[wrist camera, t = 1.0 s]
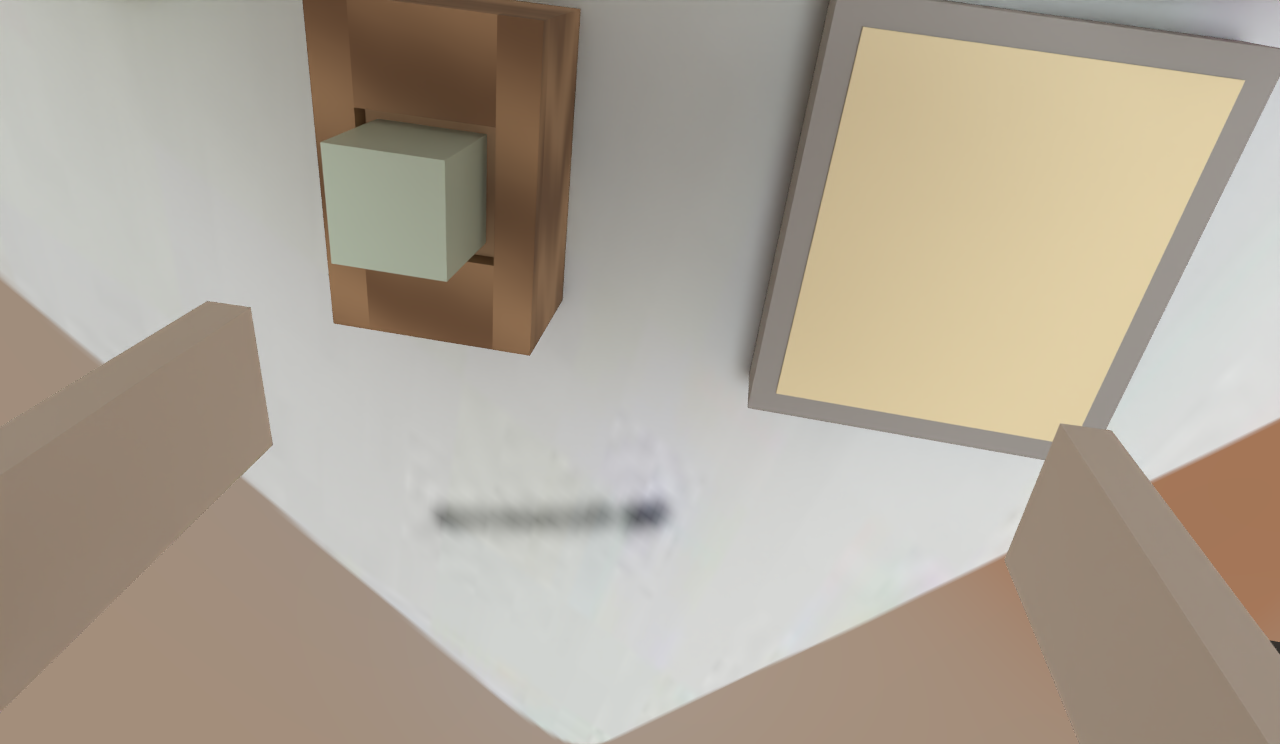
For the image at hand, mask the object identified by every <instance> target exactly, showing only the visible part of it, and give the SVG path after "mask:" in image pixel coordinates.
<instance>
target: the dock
mask: <svg viewBox="0 0 1280 744" xmlns="http://www.w3.org/2000/svg"><path fill="white" fill-rule="evenodd" d="M1279 77H1280V48H1275V47H1270V46H1265V45H1259V44H1254V43H1249V42H1244V41H1237V40H1230V39H1223V38H1215V37H1208V36H1201V35H1194V34H1186V33H1179V32H1172V31H1164V30H1157V29H1150V28H1143V27H1135V26H1128V25H1121V24H1113V23H1106V22H1099V21H1092V20H1084V19H1077V18H1070V17H1062V16H1055V15H1048V14H1041V13H1033V12H1026V11H1019V10H1011V9H1004V8H997V7H990V6H982V5H975V4H968V3H960V2H953V1H946V0H829V5H828V9H827V14H826V19H825V23H824V28H823V33H822V37H821V42H820V47H819V51H818V56H817V61H816V65H815V70H814V75H813V79H812V84H811V89H810V93H809V98H808V103H807V107H806V112H805V117H804V121H803V126H802V131H801V135H800V140H799V145H798V149H797V154H796V159H795V163H794V168H793V173H792V177H791V182H790V187H789V191H788V196H787V201H786V205H785V210H784V215H783V219H782V224H781V229H780V233H779V238H778V243H777V247H776V252H775V257H774V261H773V266H772V271H771V275H770V280H769V285H768V289H767V294H766V299H765V303H764V308H763V313H762V317H761V322H760V327H759V331H758V336H757V341H756V345H755V350H754V355H753V359H752V364H751V369H750V373H749V392H748V408H752V409H757V410H763V411H769V412H774V413H780V414H786V415H791V416H797V417H803V418H808V419H814V420H820V421H825V422H831V423H837V424H843V425H848V426H854V427H860V428H865V429H871V430H877V431H882V432H888V433H894V434H899V435H905V436H911V437H916V438H922V439H928V440H933V441H939V442H945V443H950V444H956V445H962V446H967V447H973V448H979V449H984V450H990V451H996V452H1002V453H1007V454H1013V455H1019V456H1024V457H1030V458H1036V459H1041V460H1045V459H1046V457H1047V454H1048V452H1049V449H1050V447H1051V444H1052V442H1053V439H1054V437H1055V434H1056V432H1057V430H1058V427H1059V425H1060V423H1062V424H1069V425H1076V426H1083V427H1090V428H1097V429H1104V430H1106V428H1107V426H1108V424H1109V422H1110V420H1111V418H1112V416H1113V414H1114V412H1115V410H1116V408H1117V406H1118V404H1119V402H1120V400H1121V398H1122V396H1123V394H1124V392H1125V390H1126V388H1127V386H1128V384H1129V381H1130V379H1131V377H1132V375H1133V373H1134V371H1135V369H1136V367H1137V365H1138V363H1139V361H1140V359H1141V357H1142V355H1143V353H1144V351H1145V349H1146V347H1147V345H1148V343H1149V341H1150V339H1151V337H1152V335H1153V333H1154V331H1155V329H1156V327H1157V325H1158V323H1159V321H1160V319H1161V316H1162V314H1163V312H1164V310H1165V308H1166V306H1167V304H1168V302H1169V300H1170V298H1171V296H1172V294H1173V292H1174V290H1175V288H1176V286H1177V284H1178V282H1179V280H1180V278H1181V276H1182V274H1183V272H1184V270H1185V268H1186V266H1187V264H1188V262H1189V260H1190V258H1191V256H1192V253H1193V251H1194V249H1195V247H1196V245H1197V243H1198V241H1199V239H1200V237H1201V235H1202V233H1203V231H1204V229H1205V227H1206V225H1207V223H1208V221H1209V219H1210V217H1211V215H1212V213H1213V211H1214V209H1215V207H1216V205H1217V203H1218V201H1219V199H1220V197H1221V195H1222V193H1223V191H1224V188H1225V186H1226V184H1227V182H1228V180H1229V178H1230V176H1231V174H1232V172H1233V170H1234V168H1235V166H1236V164H1237V162H1238V160H1239V158H1240V156H1241V154H1242V152H1243V150H1244V148H1245V146H1246V144H1247V142H1248V140H1249V138H1250V136H1251V134H1252V132H1253V130H1254V128H1255V126H1256V123H1257V121H1258V119H1259V117H1260V115H1261V113H1262V111H1263V109H1264V107H1265V105H1266V103H1267V101H1268V99H1269V97H1270V95H1271V93H1272V91H1273V89H1274V87H1275V85H1276V83H1277V81H1278V79H1279Z"/></svg>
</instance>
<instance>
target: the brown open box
mask: <svg viewBox="0 0 1280 744" xmlns="http://www.w3.org/2000/svg"><path fill="white" fill-rule="evenodd" d="M303 10H304V21H305V31H306V42H307V52H308V62H309V73H310V83H311V93H312V104H313V114H314V125H315V135H316V145H317V156H318V166H319V177H320V187H321V197H322V208H323V218H324V228H325V239H326V249H327V260H328V270H329V280H330V291H331V301H332V311H333V322H334V323H335V324H341V325H347V326H353V327H359V328H365V329H371V330H377V331H383V332H389V333H396V334H402V335H408V336H414V337H420V338H426V339H432V340H438V341H444V342H450V343H456V344H462V345H468V346H475V347H481V348H487V349H493V350H499V351H505V352H511V353H517V354H523V355H529V356H530V354H531V353H532V351H533V349H534V348H535V346H536V344H537V342H538V341H539V339H540V337H541V336H542V334H543V332H544V331H545V329H546V327H547V325H548V324H549V322H550V320H551V319H552V317H553V315H554V314H555V312H556V310H557V308H558V307H559V305H560V303H561V302H562V298H563V282H564V266H565V250H566V234H567V218H568V202H569V186H570V170H571V154H572V138H573V122H574V106H575V91H576V75H577V59H578V43H579V27H580V11H581V9H577V8H569V7H561V6H553V5H546V4H538V3H530V2H523V1H515V0H303ZM375 119H384V120H391V121H398V122H405V123H412V124H419V125H426V126H433V127H440V128H447V129H454V130H461V131H468V132H475V133H482V134H487V176H486V243H485V244H484V245H483V246H482V247H481V248H480V249H479V250H478V251H477V252H476V253H475V254H474V255H473V256H472V257H471V258H470V259H469V260H468V261H467V262H466V263H465V264H464V265H463V266H462V267H461V268H460V269H459V270H458V271H457V272H456V273H455V274H454V275H453V276H452V277H451V278H450V279H449V280H448V281H447V282H444V281H438V280H432V279H426V278H419V277H413V276H407V275H401V274H394V273H388V272H382V271H376V270H369V269H363V268H357V267H351V266H344V265H338V264H332V263H331V253H330V242H329V232H328V221H327V210H326V199H325V189H324V178H323V167H322V157H321V146H320V142H322V141H324V140H327V139H329V138H332V137H334V136H337V135H339V134H341V133H344V132H346V131H349V130H351V129H353V128H356V127H358V126H361V125H363V124H365V123H368V122H370V121H373V120H375Z"/></svg>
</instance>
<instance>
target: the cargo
mask: <svg viewBox="0 0 1280 744" xmlns="http://www.w3.org/2000/svg"><path fill="white" fill-rule="evenodd" d="M320 146H321V157H322V167H323V178H324V189H325V199H326V210H327V221H328V232H329V242H330V253H331V263H332V264H338V265H344V266H351V267H357V268H363V269H369V270H376V271H382V272H388V273H394V274H401V275H407V276H413V277H419V278H426V279H432V280H438V281H444V282H447V281H448V280H449V279H450V278H451V277H452V276H453V275H454V274H455V273H456V272H457V271H458V270H459V269H460V268H461V267H462V266H463V265H464V264H465V263H466V262H467V261H468V260H469V259H470V258H471V257H472V256H473V255H474V254H475V253H476V252H477V251H478V250H479V249H480V248H481V247H482V246H483V245H484V244H485V243H486V176H487V134H482V133H475V132H468V131H461V130H454V129H447V128H440V127H433V126H426V125H419V124H412V123H405V122H398V121H391V120H384V119H375V120H373V121H370V122H368V123H365V124H363V125H361V126H358V127H356V128H353V129H351V130H349V131H346V132H344V133H341V134H339V135H337V136H334V137H332V138H329V139H327V140H324V141H322V142H320Z"/></svg>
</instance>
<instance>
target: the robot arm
mask: <svg viewBox="0 0 1280 744" xmlns="http://www.w3.org/2000/svg"><path fill="white" fill-rule="evenodd" d="M272 445H273V443H272V437H271V431H270V424H269V418H268V412H267V406H266V400H265V394H264V387H263V381H262V375H261V369H260V363H259V357H258V350H257V344H256V338H255V332H254V326H253V320H252V313H251V307H245V306H238V305H231V304H224V303H217V302H210V301H207V302H205V303H203V304H202V305H200V306H198V307H197V308H195V309H194V310H192V311H190V312H189V313H187V314H185V315H184V316H182V317H180V318H179V319H177V320H175V321H174V322H172V323H170V324H169V325H167V326H166V327H164V328H162V329H161V330H159V331H157V332H156V333H154V334H152V335H151V336H149V337H147V338H146V339H144V340H142V341H141V342H139V343H138V344H136V345H134V346H133V347H131V348H129V349H128V350H126V351H124V352H123V353H121V354H119V355H118V356H116V357H114V358H113V359H111V360H110V361H108V362H106V363H105V364H103V365H101V366H100V367H98V368H96V369H95V370H93V371H91V372H90V373H88V374H87V375H85V376H83V377H82V378H80V379H78V380H77V381H75V382H73V383H72V384H70V385H68V386H67V387H65V388H64V389H62V390H60V391H58V392H57V393H55V394H54V395H52V396H50V397H49V398H47V399H45V400H44V401H42V402H40V403H39V404H37V405H35V406H34V407H32V408H30V409H29V410H27V411H26V412H24V413H22V414H21V415H19V416H18V417H16V418H14V419H13V420H11V421H9V422H7V423H6V424H4V425H3V426H1V427H0V712H1V711H2V710H3V709H4V708H5V707H6V706H8V704H9V703H11V702H12V701H13V700H14V699H15V698H16V697H17V696H18V695H19V694H20V693H21V692H22V691H23V690H24V689H25V688H26V687H27V686H28V685H29V684H30V683H31V682H32V681H33V680H34V679H35V678H36V677H37V676H38V675H39V674H40V673H41V672H42V671H43V670H44V669H45V668H46V667H47V666H48V665H49V664H50V663H51V662H52V661H53V660H54V659H55V658H56V657H57V656H58V655H59V654H60V653H61V652H62V651H63V650H64V649H66V647H68V646H69V645H70V643H72V642H73V641H74V640H75V639H76V638H77V637H78V636H79V635H80V634H81V633H82V632H83V631H84V630H85V629H86V628H87V627H88V626H89V625H90V624H91V623H92V622H93V621H94V620H95V619H96V618H97V617H98V616H99V615H100V614H101V613H102V612H103V611H104V610H105V609H106V608H107V607H108V606H109V605H110V604H111V603H112V602H113V601H114V600H115V599H116V598H117V597H118V596H119V595H120V594H121V593H123V592H124V590H126V589H127V587H129V586H130V585H131V584H132V583H133V581H135V580H136V578H138V577H139V576H140V575H141V574H142V573H143V572H144V571H145V570H146V569H147V568H148V567H149V566H150V565H151V564H152V563H153V562H154V561H155V560H156V559H157V558H158V557H159V556H160V555H161V554H162V553H163V552H164V551H165V550H166V549H167V548H168V547H169V546H170V545H171V544H172V543H173V542H174V541H175V540H176V539H177V538H178V537H179V536H181V535H182V534H183V533H184V532H185V530H187V529H188V528H189V527H190V526H191V525H192V524H193V523H194V522H195V520H197V519H198V518H199V517H200V516H201V515H202V514H203V513H204V512H205V511H206V510H207V509H208V508H209V507H210V506H211V505H212V504H213V503H214V502H215V501H216V500H217V499H218V498H219V497H220V496H221V495H222V494H223V493H224V492H225V491H226V490H227V489H228V488H229V487H230V486H231V485H232V484H233V483H234V482H235V481H236V480H237V479H239V478H240V477H241V476H242V475H243V474H244V473H245V472H246V471H247V470H248V469H249V468H250V467H251V466H252V465H253V464H254V463H255V462H256V461H257V460H258V459H259V458H260V457H261V456H262V455H263V454H264V453H265V452H266V451H267V450H268V449H269V448H270V447H271V446H272ZM1005 563H1006V565H1007V567H1008V570H1009V573H1010V575H1011V577H1012V580H1013V582H1014V584H1015V587H1016V590H1017V592H1018V594H1019V597H1020V600H1021V602H1022V604H1023V607H1024V609H1025V612H1026V614H1027V617H1028V619H1029V622H1030V624H1031V627H1032V629H1033V631H1034V634H1035V636H1036V639H1037V641H1038V644H1039V646H1040V648H1041V651H1042V653H1043V656H1044V658H1045V661H1046V663H1047V665H1048V668H1049V671H1050V673H1051V675H1052V678H1053V680H1054V683H1055V685H1056V688H1057V690H1058V693H1059V695H1060V698H1061V700H1062V703H1063V705H1064V707H1065V710H1066V712H1067V715H1068V717H1069V720H1070V722H1071V725H1072V727H1073V730H1074V732H1075V734H1076V737H1077V739H1078V742H1079V744H1280V642H1275V641H1270V640H1269V639H1268V638H1267V637H1266V635H1265V634H1264V633H1263V632H1262V630H1261V629H1260V627H1259V626H1258V625H1257V624H1256V622H1255V621H1254V619H1253V618H1252V617H1251V615H1250V614H1249V613H1248V612H1247V610H1246V609H1245V607H1244V606H1243V605H1242V604H1241V602H1240V601H1239V599H1238V598H1237V597H1236V595H1235V594H1234V593H1233V592H1232V590H1231V589H1230V587H1229V586H1228V585H1227V584H1226V582H1225V581H1224V579H1223V578H1222V577H1221V576H1220V574H1219V573H1218V572H1217V570H1216V569H1215V568H1214V566H1213V565H1212V564H1211V562H1210V561H1209V560H1208V558H1207V557H1206V556H1205V554H1204V553H1203V552H1202V550H1201V549H1200V548H1199V546H1198V545H1197V544H1196V542H1195V541H1194V540H1193V538H1192V537H1191V536H1190V534H1189V533H1188V532H1187V530H1186V529H1185V528H1184V526H1183V525H1182V524H1181V522H1180V521H1179V520H1178V518H1177V517H1176V516H1175V514H1174V513H1173V512H1172V510H1171V509H1170V508H1169V506H1168V505H1167V504H1166V502H1165V501H1164V500H1163V499H1162V497H1161V496H1160V494H1159V493H1158V492H1157V490H1156V489H1155V488H1154V486H1153V485H1152V484H1151V482H1150V481H1149V480H1148V478H1147V477H1146V476H1145V474H1144V473H1143V472H1142V470H1141V469H1140V468H1139V466H1138V465H1137V464H1136V462H1135V461H1134V460H1133V458H1132V457H1131V456H1130V454H1129V453H1128V452H1127V450H1126V449H1125V448H1124V446H1123V445H1122V444H1121V442H1120V441H1119V440H1118V438H1117V437H1116V436H1115V434H1114V433H1113V432H1112V431H1111V430H1104V429H1097V428H1090V427H1083V426H1076V425H1069V424H1062V423H1060V425H1059V427H1058V430H1057V432H1056V434H1055V437H1054V439H1053V442H1052V444H1051V447H1050V449H1049V452H1048V454H1047V457H1046V459H1045V462H1044V464H1043V466H1042V469H1041V471H1040V474H1039V476H1038V479H1037V481H1036V484H1035V486H1034V489H1033V491H1032V494H1031V496H1030V498H1029V501H1028V503H1027V506H1026V508H1025V511H1024V513H1023V516H1022V518H1021V521H1020V523H1019V526H1018V528H1017V530H1016V533H1015V535H1014V538H1013V540H1012V543H1011V545H1010V548H1009V550H1008V553H1007V555H1006V558H1005Z"/></svg>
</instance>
